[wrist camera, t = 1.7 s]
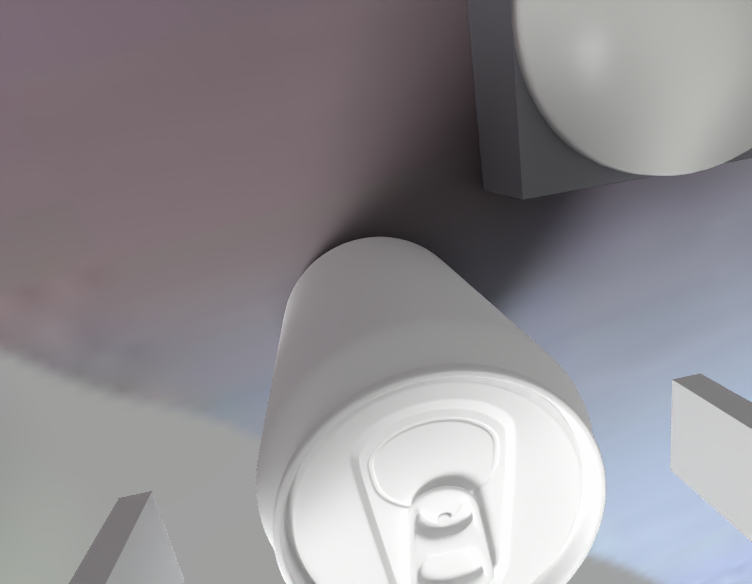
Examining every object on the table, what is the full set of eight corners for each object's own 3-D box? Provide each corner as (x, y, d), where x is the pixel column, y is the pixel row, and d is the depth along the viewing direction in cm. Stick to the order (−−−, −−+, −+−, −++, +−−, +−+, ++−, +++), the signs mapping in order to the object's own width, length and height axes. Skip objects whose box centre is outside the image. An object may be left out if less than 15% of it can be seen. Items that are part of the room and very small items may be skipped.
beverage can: (454, 219, 20) (633, 309, 9) (469, 385, 23) (625, 621, 11) (266, 250, 20) (200, 390, 8) (303, 417, 22) (291, 702, 11)
